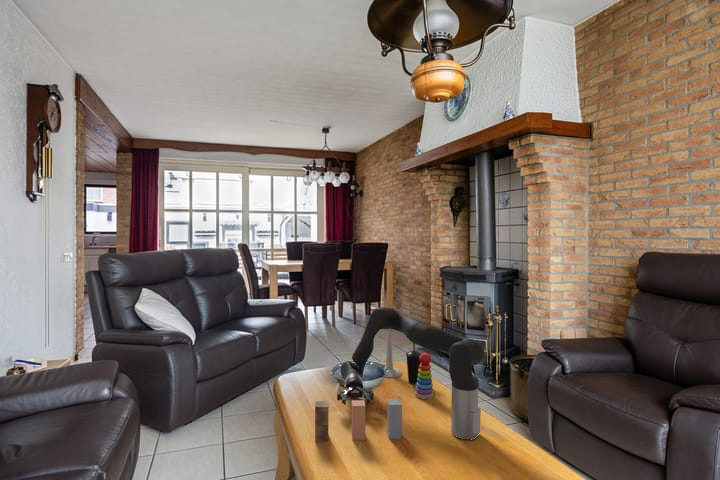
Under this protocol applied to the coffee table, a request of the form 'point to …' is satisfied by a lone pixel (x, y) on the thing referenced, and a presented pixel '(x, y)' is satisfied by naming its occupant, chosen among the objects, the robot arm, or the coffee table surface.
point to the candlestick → (389, 363)
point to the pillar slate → (394, 418)
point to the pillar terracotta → (358, 420)
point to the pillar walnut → (321, 421)
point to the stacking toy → (424, 378)
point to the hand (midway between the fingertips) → (356, 402)
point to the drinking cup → (413, 365)
